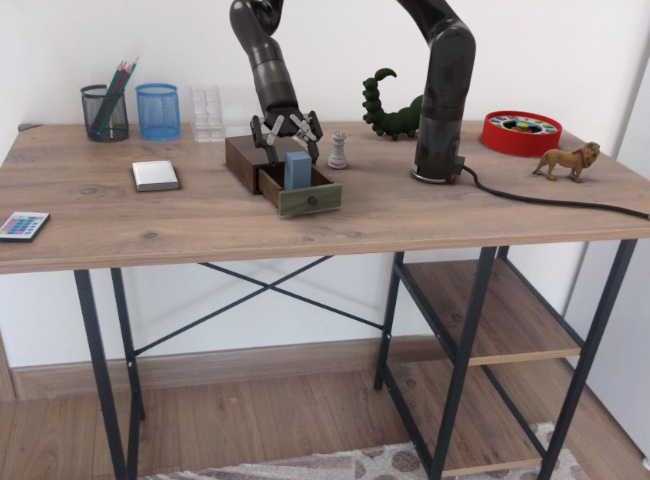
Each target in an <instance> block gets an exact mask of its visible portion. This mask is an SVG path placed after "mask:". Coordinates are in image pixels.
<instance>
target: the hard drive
mask: <svg viewBox="0 0 650 480" xmlns="http://www.w3.org/2000/svg"><path fill="white" fill-rule="evenodd" d="M132 170H133V174H134V175H133V176H134V179H135V184H136V187H137V191H138V192H147V191H149V192H150V191H162V190H163V191H164V190H176V189H178V188H179V181H178V178H177V175H176V173H175V170H174V167H173V165H172V162H171V161H170V160H155V161H154V160H153V161H140V162H138V161H137V162H133V163H132Z"/></svg>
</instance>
